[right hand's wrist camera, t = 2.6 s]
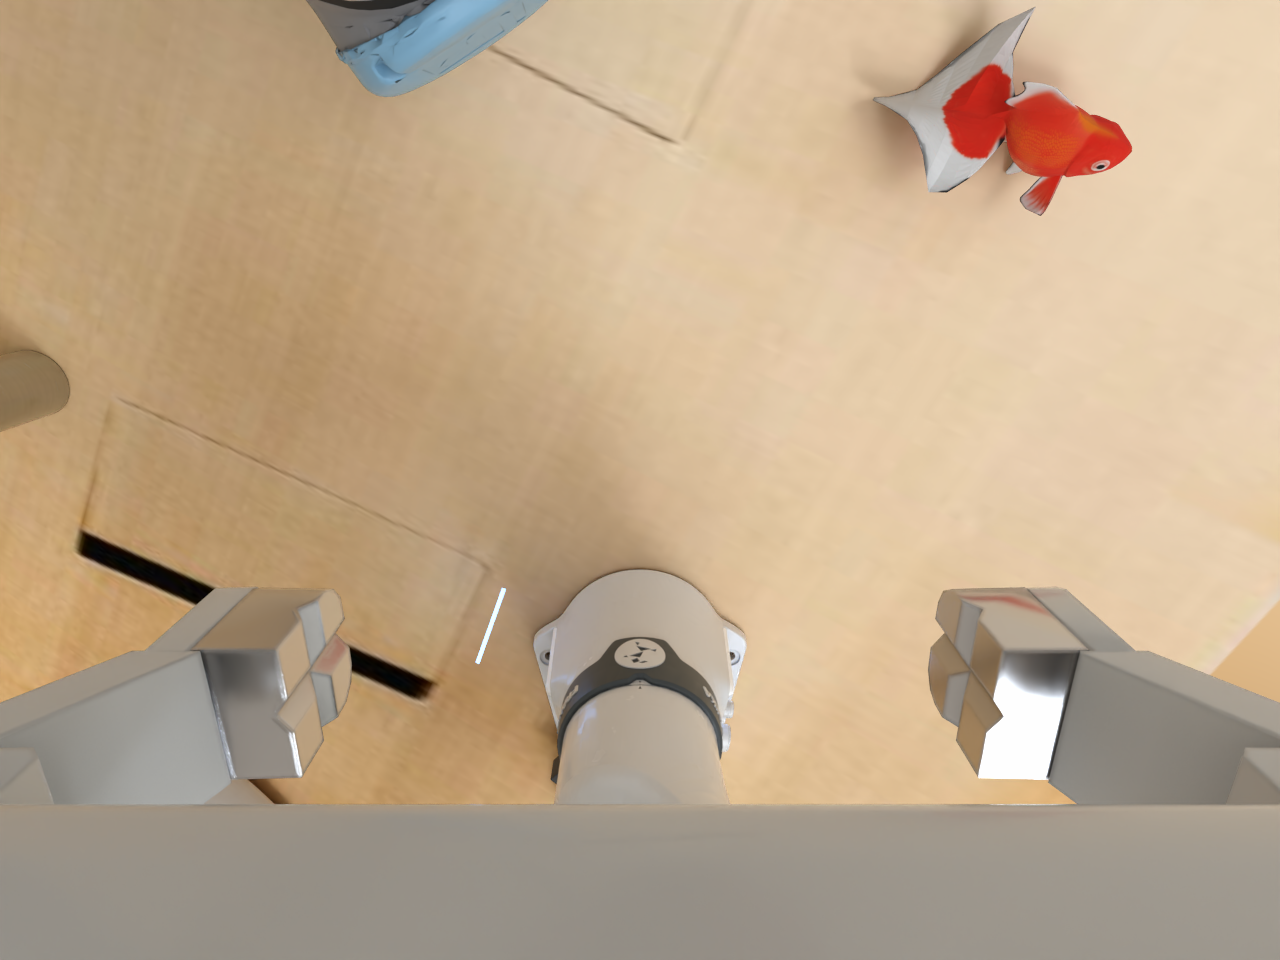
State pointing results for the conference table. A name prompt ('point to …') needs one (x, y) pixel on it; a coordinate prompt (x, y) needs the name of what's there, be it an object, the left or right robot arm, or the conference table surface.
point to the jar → (30, 388)
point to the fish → (1004, 122)
